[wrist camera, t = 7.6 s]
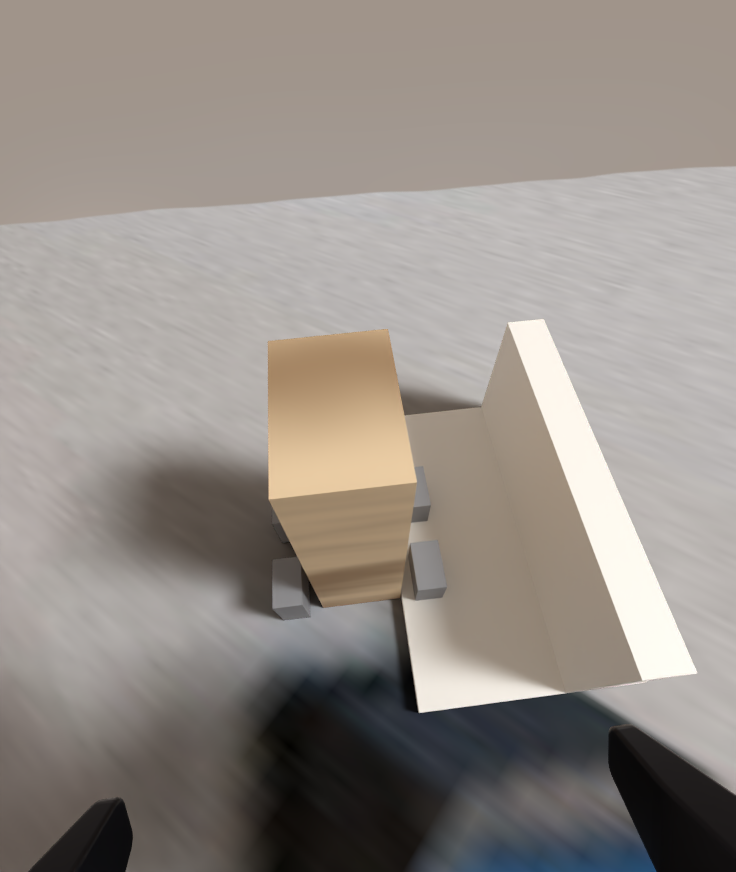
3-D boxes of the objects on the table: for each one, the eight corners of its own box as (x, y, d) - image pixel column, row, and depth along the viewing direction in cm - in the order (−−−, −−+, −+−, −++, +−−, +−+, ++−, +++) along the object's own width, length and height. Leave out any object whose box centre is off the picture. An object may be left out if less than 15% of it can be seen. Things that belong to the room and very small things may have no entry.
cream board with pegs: (639, 683, 19) (755, 665, 13) (285, 730, 19) (240, 734, 13) (536, 406, 27) (581, 315, 21) (280, 435, 26) (249, 349, 20)
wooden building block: (399, 598, 21) (416, 482, 11) (317, 608, 21) (258, 500, 11) (385, 497, 24) (387, 328, 14) (312, 506, 24) (259, 341, 14)
